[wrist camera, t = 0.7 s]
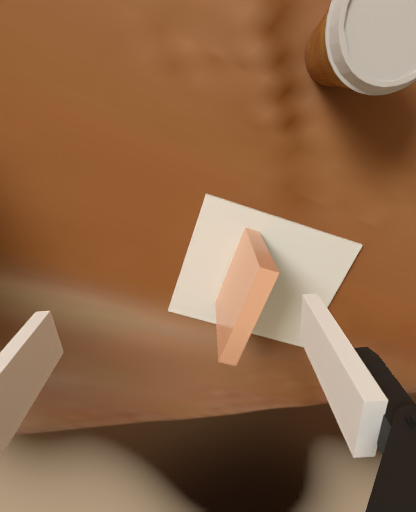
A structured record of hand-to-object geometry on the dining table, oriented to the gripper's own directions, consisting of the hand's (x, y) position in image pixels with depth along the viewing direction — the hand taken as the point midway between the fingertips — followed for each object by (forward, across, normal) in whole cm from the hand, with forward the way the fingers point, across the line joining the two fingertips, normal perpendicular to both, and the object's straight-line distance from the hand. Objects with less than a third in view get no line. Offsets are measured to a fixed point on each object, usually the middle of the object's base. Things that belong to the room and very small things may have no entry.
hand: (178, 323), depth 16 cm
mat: (+25, +9, -11) cm, 29 cm away
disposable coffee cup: (+25, +16, +15) cm, 34 cm away
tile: (+25, +5, -9) cm, 27 cm away
